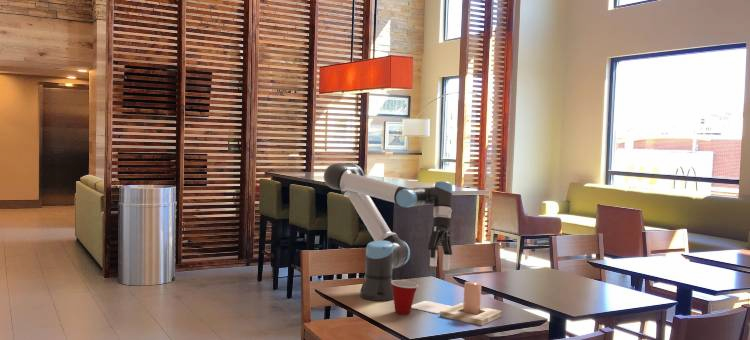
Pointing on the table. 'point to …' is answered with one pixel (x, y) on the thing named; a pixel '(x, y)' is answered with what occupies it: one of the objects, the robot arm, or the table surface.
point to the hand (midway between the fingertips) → (439, 268)
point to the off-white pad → (430, 307)
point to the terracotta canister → (472, 298)
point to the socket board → (480, 319)
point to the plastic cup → (403, 295)
